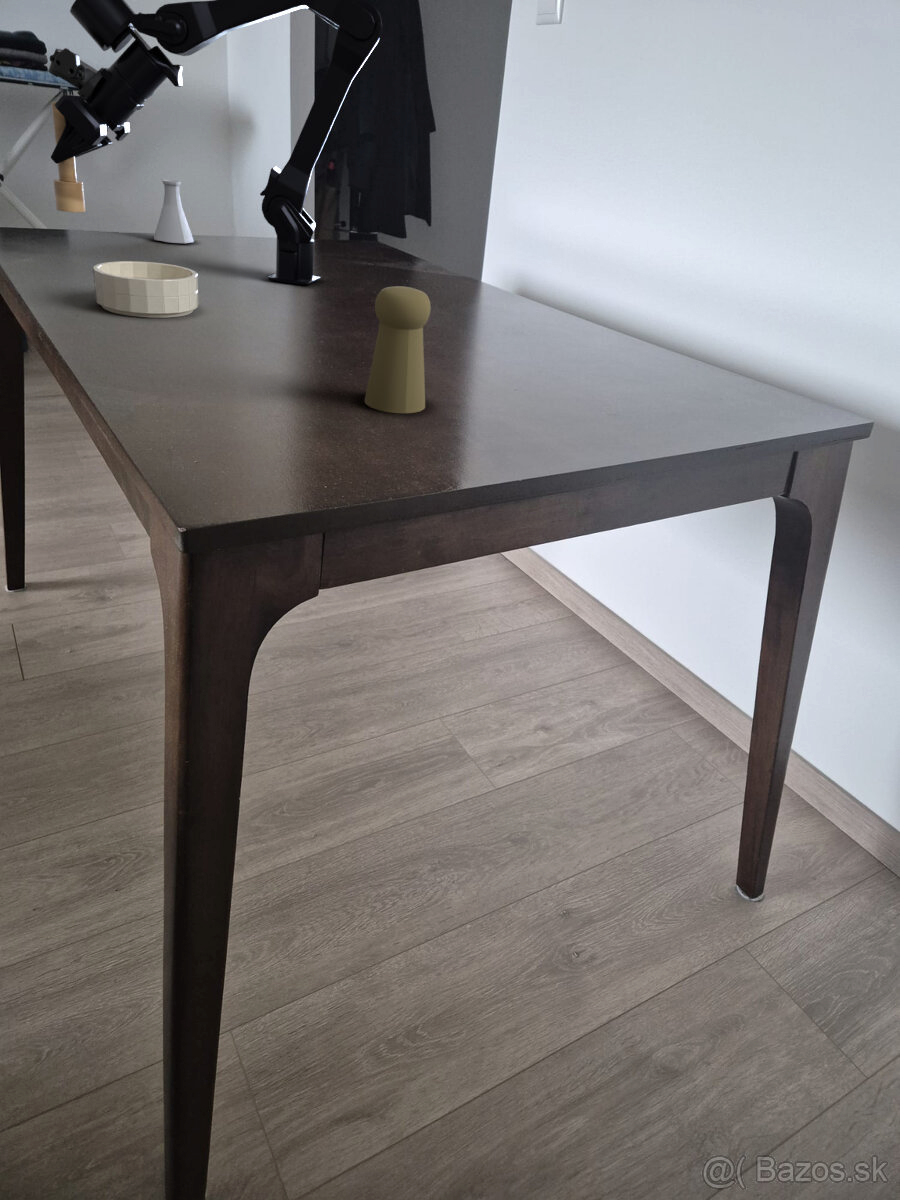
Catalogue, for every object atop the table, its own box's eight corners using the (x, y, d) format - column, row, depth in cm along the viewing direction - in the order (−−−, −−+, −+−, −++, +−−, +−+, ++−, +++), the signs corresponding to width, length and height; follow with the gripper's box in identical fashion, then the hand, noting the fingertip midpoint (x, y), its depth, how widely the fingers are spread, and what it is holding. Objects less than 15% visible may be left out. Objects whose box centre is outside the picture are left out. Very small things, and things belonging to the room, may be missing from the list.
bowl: (127, 293, 116) (125, 257, 114) (214, 306, 115) (213, 271, 113) (76, 308, 105) (73, 269, 103) (171, 323, 104) (169, 284, 102)
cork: (364, 392, 88) (371, 279, 83) (423, 397, 89) (434, 285, 84) (364, 410, 83) (372, 290, 78) (427, 415, 84) (439, 297, 78)
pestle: (60, 207, 131) (50, 101, 124) (88, 210, 131) (79, 104, 124) (52, 210, 127) (41, 100, 120) (81, 213, 128) (71, 104, 121)
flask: (188, 246, 155) (186, 184, 150) (147, 241, 154) (144, 179, 149) (199, 241, 161) (197, 181, 156) (160, 236, 161) (157, 176, 156)
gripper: (100, 32, 126) (30, 110, 130) (63, 22, 110) (-16, 111, 114) (159, 101, 131) (90, 174, 135) (132, 101, 115) (54, 183, 119)
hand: (56, 160), depth 126 cm, fingers closed on pestle, 2 cm apart
